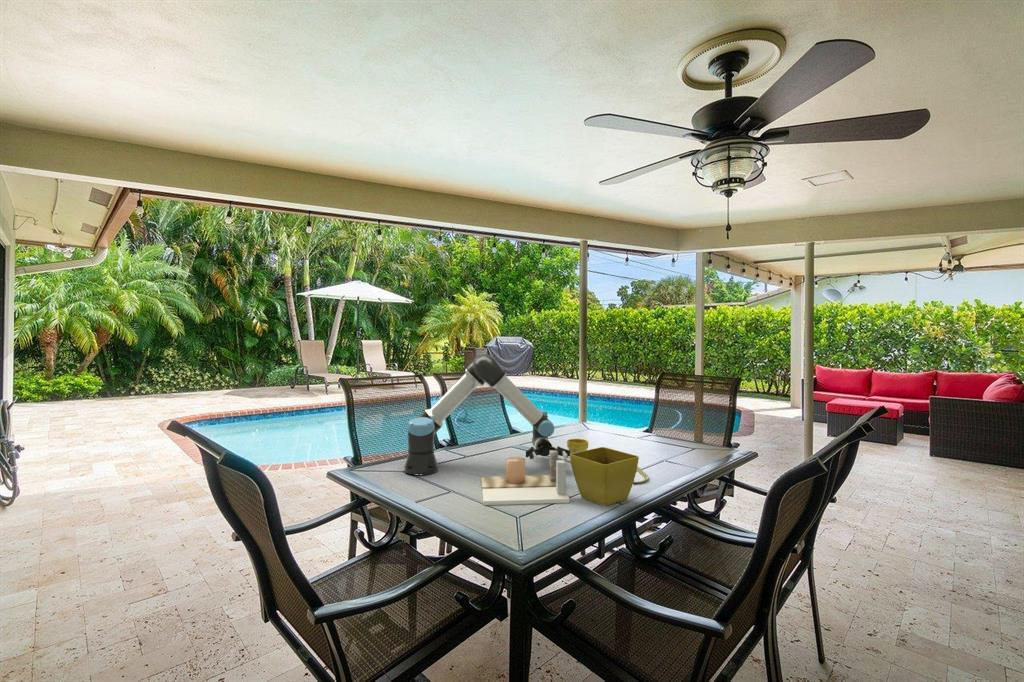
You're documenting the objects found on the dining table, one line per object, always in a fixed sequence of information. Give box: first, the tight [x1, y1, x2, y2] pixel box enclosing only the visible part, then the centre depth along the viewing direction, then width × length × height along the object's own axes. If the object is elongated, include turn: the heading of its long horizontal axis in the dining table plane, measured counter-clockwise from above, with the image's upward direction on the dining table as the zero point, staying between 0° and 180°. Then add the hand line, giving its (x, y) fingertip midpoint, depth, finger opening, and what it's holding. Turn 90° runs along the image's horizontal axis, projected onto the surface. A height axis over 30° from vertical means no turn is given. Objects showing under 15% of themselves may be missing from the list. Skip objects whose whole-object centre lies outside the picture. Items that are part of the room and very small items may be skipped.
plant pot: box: [566, 438, 589, 454], centre depth 242 cm, size 10×10×10 cm
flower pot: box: [569, 446, 640, 507], centre depth 187 cm, size 19×19×17 cm
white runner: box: [481, 459, 571, 506], centre depth 188 cm, size 32×14×14 cm, turn 95°
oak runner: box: [480, 450, 559, 490], centre depth 204 cm, size 32×14×14 cm, turn 95°
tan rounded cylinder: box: [505, 456, 526, 484], centre depth 204 cm, size 8×8×9 cm
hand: (550, 458), depth 214 cm, fingers open, 13 cm apart
